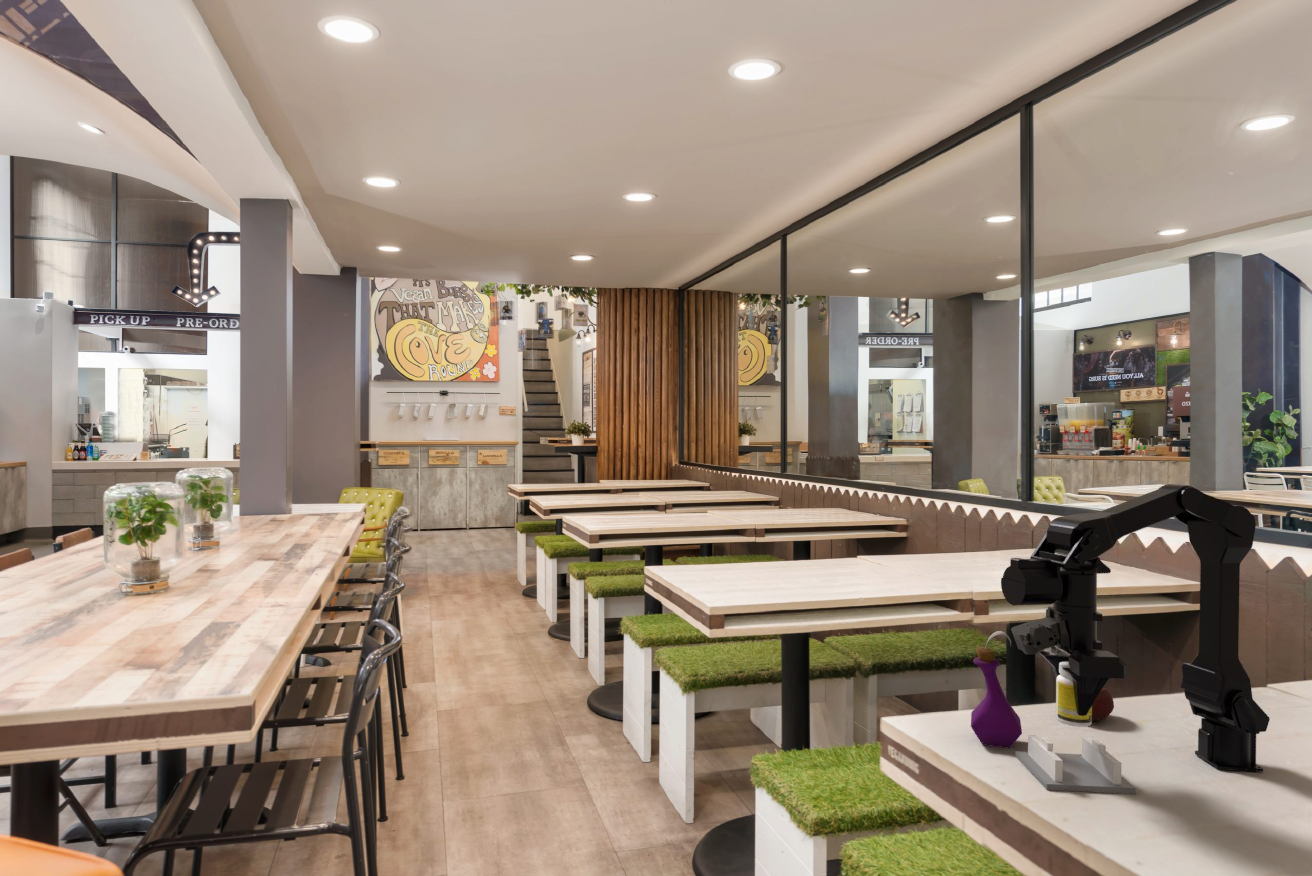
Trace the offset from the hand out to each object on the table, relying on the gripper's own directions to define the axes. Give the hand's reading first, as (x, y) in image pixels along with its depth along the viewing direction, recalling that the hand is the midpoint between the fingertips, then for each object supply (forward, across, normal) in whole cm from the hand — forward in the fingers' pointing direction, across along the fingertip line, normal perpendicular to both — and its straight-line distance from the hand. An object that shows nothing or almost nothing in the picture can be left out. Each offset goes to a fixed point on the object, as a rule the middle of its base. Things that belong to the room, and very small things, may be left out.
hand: (1074, 709), depth 119 cm
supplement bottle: (+2, 0, 0) cm, 2 cm away
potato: (+10, -26, +14) cm, 31 cm away
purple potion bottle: (+10, -12, -7) cm, 17 cm away
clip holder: (+10, 0, 0) cm, 10 cm away
